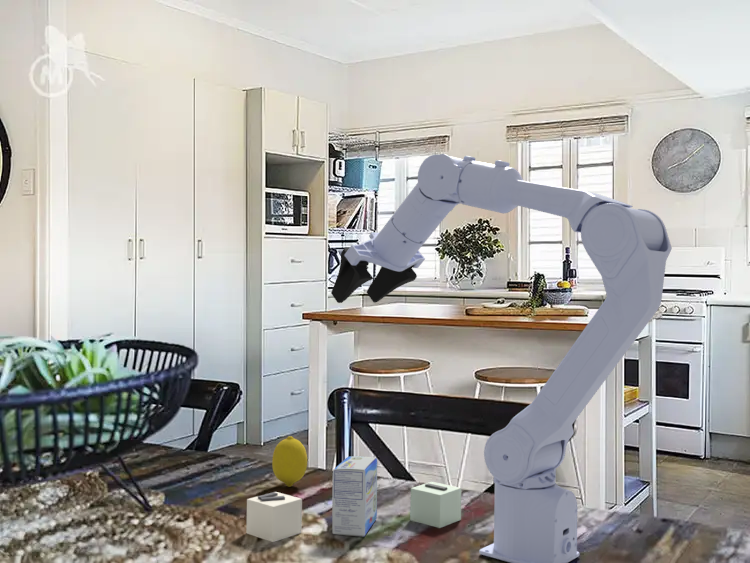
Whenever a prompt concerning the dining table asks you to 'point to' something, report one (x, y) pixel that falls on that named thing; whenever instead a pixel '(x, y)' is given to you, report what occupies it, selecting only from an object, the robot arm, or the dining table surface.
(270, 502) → the cream digit block
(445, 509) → the sage digit block
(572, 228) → the robot arm
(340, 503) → the medicine box
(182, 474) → the dining table surface
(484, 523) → the dining table surface
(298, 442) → the lemon
